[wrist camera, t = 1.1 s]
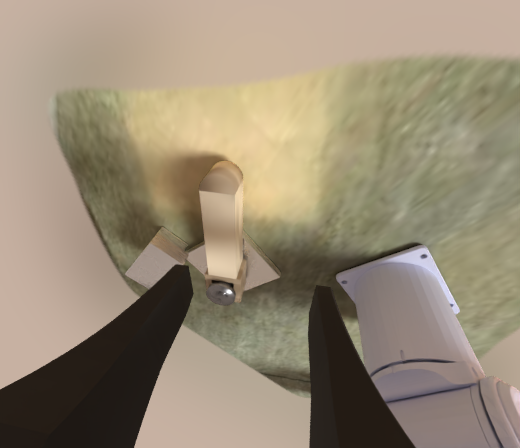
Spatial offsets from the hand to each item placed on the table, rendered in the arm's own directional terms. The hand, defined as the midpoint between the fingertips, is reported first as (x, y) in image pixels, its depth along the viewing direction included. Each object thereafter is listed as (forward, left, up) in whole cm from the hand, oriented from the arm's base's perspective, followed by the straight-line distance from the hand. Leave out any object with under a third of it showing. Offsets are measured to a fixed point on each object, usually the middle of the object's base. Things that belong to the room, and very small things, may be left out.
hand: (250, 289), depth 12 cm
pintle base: (-5, +9, -10) cm, 14 cm away
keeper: (+1, +11, -10) cm, 15 cm away
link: (-1, +6, -9) cm, 11 cm away
